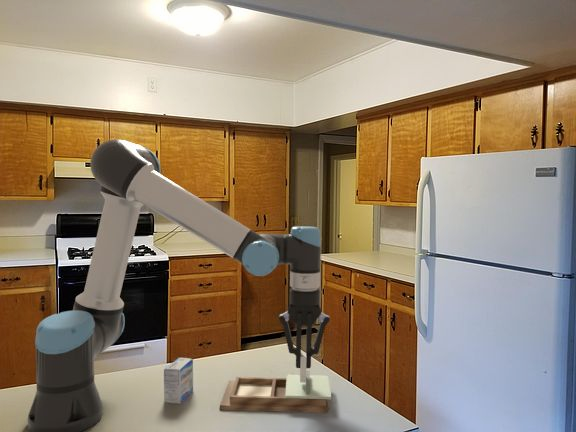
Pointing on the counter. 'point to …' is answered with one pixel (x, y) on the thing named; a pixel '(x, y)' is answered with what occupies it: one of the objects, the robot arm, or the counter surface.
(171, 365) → the medicine box
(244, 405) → the brown compartment box
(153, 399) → the counter surface
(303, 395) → the lid
